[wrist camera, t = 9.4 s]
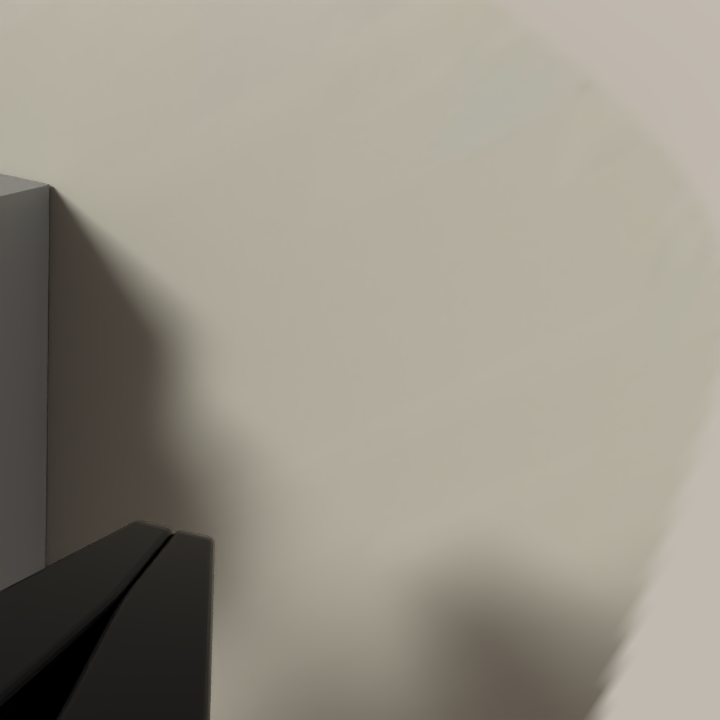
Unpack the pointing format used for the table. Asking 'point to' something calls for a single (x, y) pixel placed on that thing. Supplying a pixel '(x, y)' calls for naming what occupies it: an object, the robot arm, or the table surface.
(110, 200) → the table surface
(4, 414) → the console
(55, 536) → the table surface
